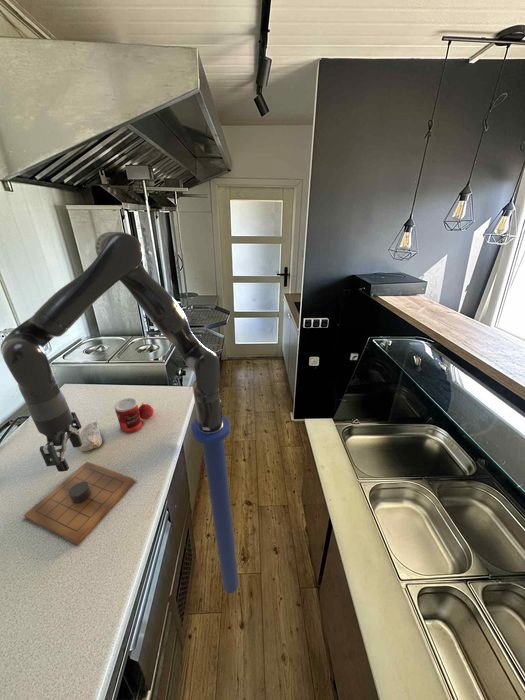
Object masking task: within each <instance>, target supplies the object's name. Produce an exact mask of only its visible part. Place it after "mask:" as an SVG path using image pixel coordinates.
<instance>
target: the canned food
mask: <svg viewBox="0 0 525 700" xmlns="http://www.w3.org/2000/svg"><path fill="white" fill-rule="evenodd" d="M114 411H115V414H116V417H117V421H118V424H119V427H120V430H121V431H122V432H123V433H127V434H129V433H134V432H136V431H138V430H140V429H141V427H142V425H143V421H142V420H143V419H142V418H141V416H140V412H139V405H138V401H137V399H135V398H130V397H129V398H122V399H121V400H118V401H117V402H115V404H114Z"/></svg>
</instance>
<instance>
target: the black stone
mask: <svg viewBox="0 0 525 700" xmlns="http://www.w3.org/2000/svg"><path fill="white" fill-rule="evenodd" d="M68 494H69V496H70V499H71V501H72V502H73V503H75V504H78V503H82V502H84V501H85V500H87V499H88V498H89V496H90V494H91V490H90V488H89V485H88V483H87V482H79V483H77V484H75V485H74V486H72V487H71V488H70V490H69V493H68Z"/></svg>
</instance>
